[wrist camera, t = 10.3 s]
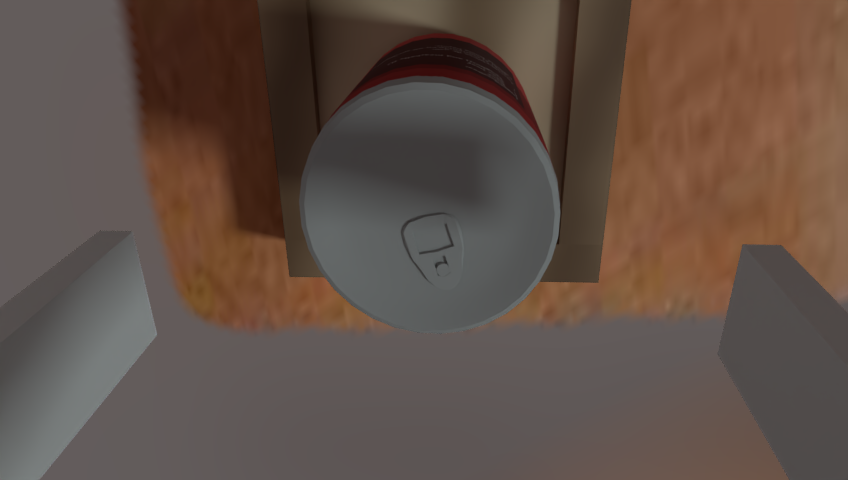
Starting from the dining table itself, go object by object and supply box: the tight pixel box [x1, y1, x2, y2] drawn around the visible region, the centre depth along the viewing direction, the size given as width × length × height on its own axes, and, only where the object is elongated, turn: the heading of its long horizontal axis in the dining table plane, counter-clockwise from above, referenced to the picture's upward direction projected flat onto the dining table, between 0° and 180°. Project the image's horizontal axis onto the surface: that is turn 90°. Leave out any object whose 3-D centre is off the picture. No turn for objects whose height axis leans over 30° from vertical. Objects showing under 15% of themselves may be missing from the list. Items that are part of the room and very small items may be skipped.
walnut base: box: [257, 0, 631, 283], centre depth 29 cm, size 15×15×4 cm
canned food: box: [299, 33, 560, 334], centre depth 23 cm, size 8×8×11 cm
